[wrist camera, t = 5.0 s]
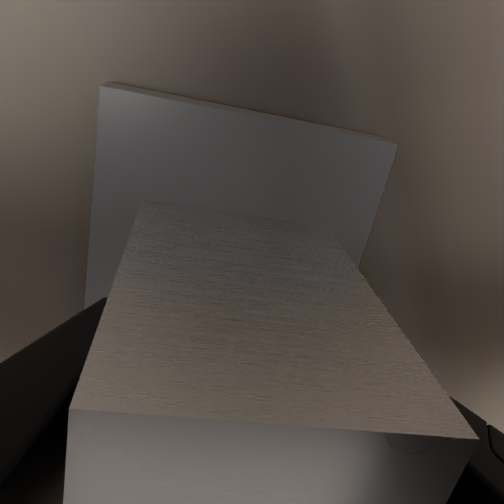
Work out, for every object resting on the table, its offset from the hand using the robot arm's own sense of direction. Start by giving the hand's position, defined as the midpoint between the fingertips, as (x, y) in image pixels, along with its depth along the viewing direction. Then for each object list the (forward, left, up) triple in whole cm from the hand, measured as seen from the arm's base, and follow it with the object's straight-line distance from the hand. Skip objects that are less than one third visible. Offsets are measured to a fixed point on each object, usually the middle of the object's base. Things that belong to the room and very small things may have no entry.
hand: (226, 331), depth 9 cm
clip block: (0, 0, -2) cm, 2 cm away
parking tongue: (0, 0, -2) cm, 2 cm away
